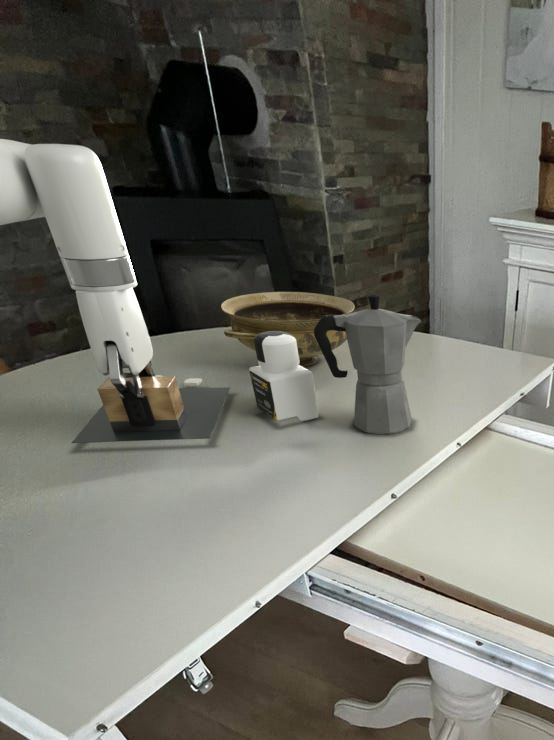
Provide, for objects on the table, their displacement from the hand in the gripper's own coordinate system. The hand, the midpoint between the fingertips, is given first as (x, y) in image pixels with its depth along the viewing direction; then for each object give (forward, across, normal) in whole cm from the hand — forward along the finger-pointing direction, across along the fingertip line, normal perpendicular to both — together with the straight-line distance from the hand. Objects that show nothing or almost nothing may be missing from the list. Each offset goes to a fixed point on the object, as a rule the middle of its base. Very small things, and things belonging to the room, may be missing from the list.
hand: (148, 416), depth 85 cm
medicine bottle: (+3, -5, +19) cm, 20 cm away
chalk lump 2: (+2, -19, +2) cm, 19 cm away
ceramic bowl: (+3, -35, +19) cm, 40 cm away
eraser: (+1, 0, 0) cm, 1 cm away
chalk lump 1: (+1, -18, -3) cm, 18 cm away
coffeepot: (+3, -1, +33) cm, 33 cm away
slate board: (+2, -5, 0) cm, 6 cm away
